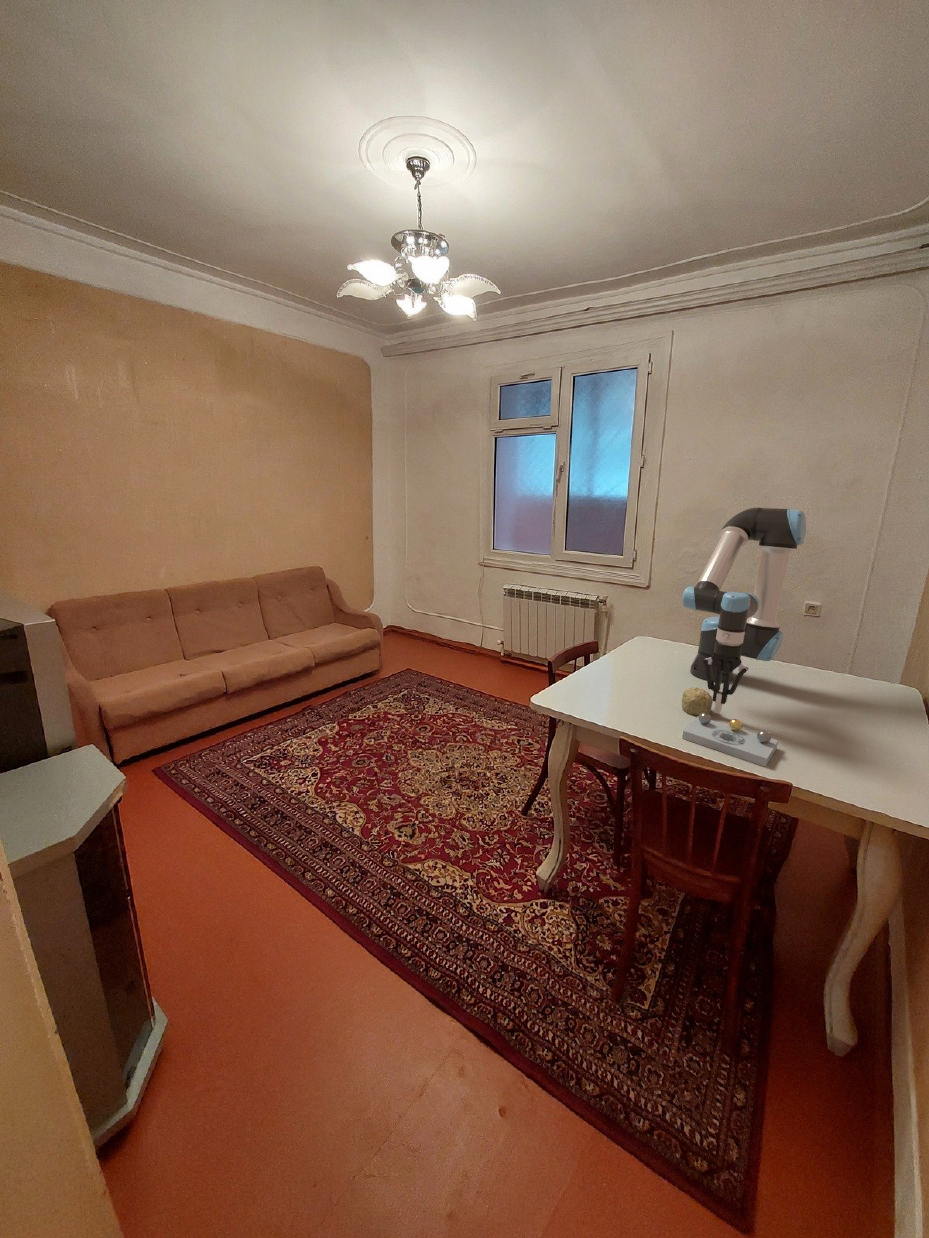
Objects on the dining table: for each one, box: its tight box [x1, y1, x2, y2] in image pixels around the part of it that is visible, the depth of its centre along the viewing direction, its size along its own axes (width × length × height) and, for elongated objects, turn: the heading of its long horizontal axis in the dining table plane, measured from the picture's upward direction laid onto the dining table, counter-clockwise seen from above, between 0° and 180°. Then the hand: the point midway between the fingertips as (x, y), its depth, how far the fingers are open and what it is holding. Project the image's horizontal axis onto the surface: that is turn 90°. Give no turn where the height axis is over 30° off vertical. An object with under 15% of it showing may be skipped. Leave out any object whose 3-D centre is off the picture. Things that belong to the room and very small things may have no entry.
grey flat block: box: [682, 715, 779, 768], centre depth 147 cm, size 13×22×2 cm, turn 48°
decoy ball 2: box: [756, 730, 772, 743], centre depth 142 cm, size 4×4×4 cm
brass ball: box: [728, 718, 743, 731], centre depth 149 cm, size 4×4×4 cm
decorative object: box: [681, 687, 714, 716], centre depth 166 cm, size 9×10×10 cm
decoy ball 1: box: [698, 713, 712, 724], centre depth 153 cm, size 4×4×4 cm
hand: (717, 711), depth 163 cm, fingers closed
